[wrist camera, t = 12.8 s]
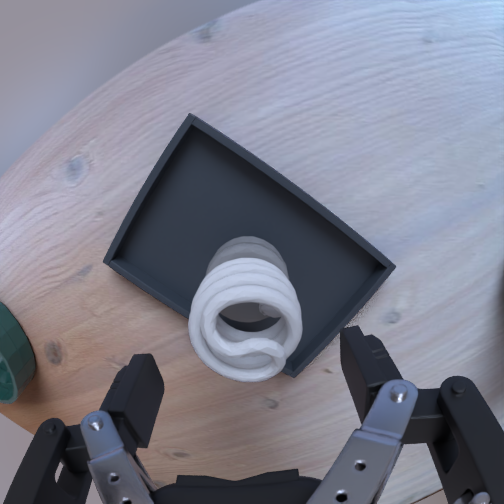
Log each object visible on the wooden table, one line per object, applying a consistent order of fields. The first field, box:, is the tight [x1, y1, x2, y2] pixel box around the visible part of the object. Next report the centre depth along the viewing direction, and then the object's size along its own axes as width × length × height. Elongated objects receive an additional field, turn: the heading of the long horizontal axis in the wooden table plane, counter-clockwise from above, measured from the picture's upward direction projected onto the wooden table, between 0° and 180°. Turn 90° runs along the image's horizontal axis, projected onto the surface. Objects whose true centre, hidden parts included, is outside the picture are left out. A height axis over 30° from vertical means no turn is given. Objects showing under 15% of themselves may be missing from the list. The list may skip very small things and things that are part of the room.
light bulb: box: [188, 236, 303, 382], centre depth 19 cm, size 6×6×12 cm
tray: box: [103, 113, 396, 378], centre depth 24 cm, size 19×13×2 cm
